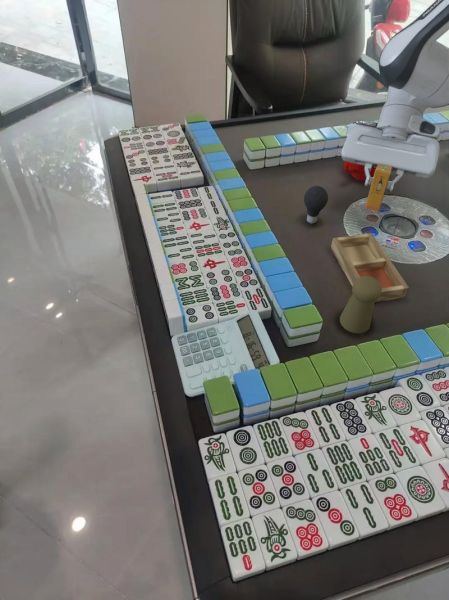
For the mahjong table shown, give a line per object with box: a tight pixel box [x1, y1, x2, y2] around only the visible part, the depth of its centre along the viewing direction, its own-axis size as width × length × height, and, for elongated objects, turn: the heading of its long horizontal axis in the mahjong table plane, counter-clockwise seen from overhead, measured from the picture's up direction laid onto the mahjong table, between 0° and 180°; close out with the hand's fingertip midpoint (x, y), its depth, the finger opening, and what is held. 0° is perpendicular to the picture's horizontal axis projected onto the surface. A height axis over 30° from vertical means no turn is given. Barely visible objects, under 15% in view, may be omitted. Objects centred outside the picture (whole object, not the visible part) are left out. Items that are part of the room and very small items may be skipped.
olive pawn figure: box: [339, 276, 382, 334], centre depth 82 cm, size 6×6×11 cm
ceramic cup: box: [343, 161, 376, 182], centre depth 117 cm, size 13×17×10 cm
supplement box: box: [364, 164, 392, 212], centre depth 97 cm, size 3×3×10 cm
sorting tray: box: [330, 232, 409, 303], centre depth 94 cm, size 10×18×3 cm, turn 11°
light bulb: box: [303, 185, 329, 225], centre depth 103 cm, size 6×6×10 cm
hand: (378, 188), depth 96 cm, fingers closed on supplement box, 3 cm apart
